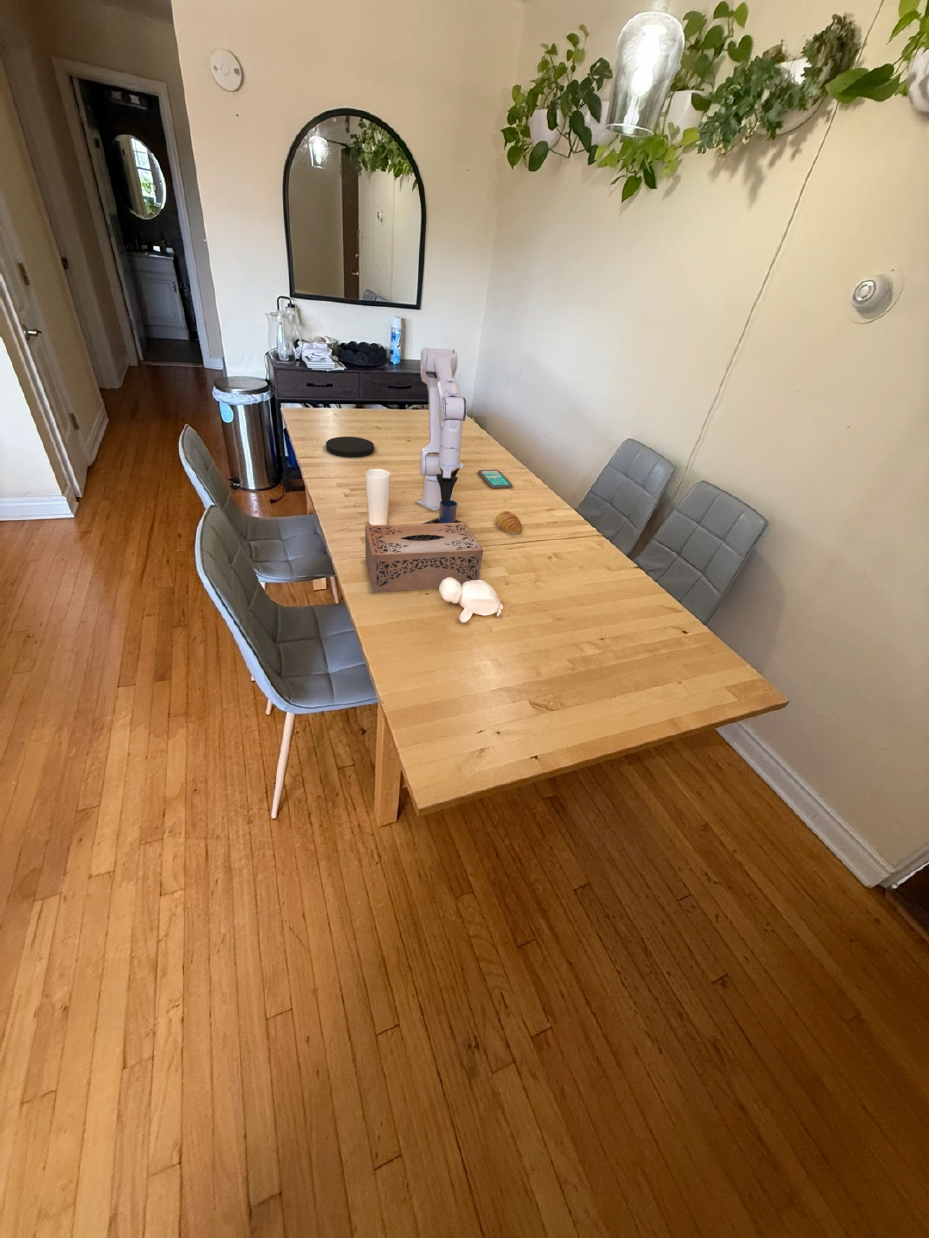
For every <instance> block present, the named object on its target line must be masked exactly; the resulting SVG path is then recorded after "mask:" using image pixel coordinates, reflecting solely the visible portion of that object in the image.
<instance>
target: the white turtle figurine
mask: <svg viewBox="0 0 929 1238" xmlns="http://www.w3.org/2000/svg"><path fill="white" fill-rule="evenodd" d="M438 593H439V594H440V596H441V598H442V599H443V600H444V601H445V602H447V603H452V604H459V605H460V607H462V608H463V610H462V612H461V613H460V615H459V621H460V622H461V623H462V624H463V623H464V624H466V623H467V622H468V621H470V619H471V618H472V616H473V614H476V615H480V616H491V615H494V614H496V616H497V617H499V616H500V614H501V613H502V610H503V609H504V605H503V604H502V603H501V601H500V599H499V597H498V594H497V592H496V590H495V589H494V588H493V586H491V585H490V584H489V583H487V582H486V581H485V580H484V579H479V580H471V581H467V582H465V583H463V584H462V586H461V584H460V583H459V582H458V581H457V580H456V579H454V578H452V577H448V578H446V579H444V580H443V581H442V582H441V584H440V586H439V588H438Z"/></svg>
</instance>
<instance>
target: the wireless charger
mask: <svg viewBox="0 0 929 1238" xmlns="http://www.w3.org/2000/svg"><path fill="white" fill-rule="evenodd" d="M325 449H326V452H328V453H329V454H331V455H333V456H336V457H341V458H348V459H349V458H350V459H351V458H353V459H354V458H363V457H369V456H370V455H372V454H374V452H375V444H374V442H372V441H371V440H369V439H367V438H364V437H358V436H337V437H332V438H330V439H328V440H327V441H326V442H325Z"/></svg>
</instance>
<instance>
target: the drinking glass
mask: <svg viewBox="0 0 929 1238" xmlns="http://www.w3.org/2000/svg"><path fill="white" fill-rule="evenodd" d="M364 477H365V479H364V482H365V495H366V504H367V514H368V515H367V516H368V524H370V525H388V515H389V504H390V496H391V472H389V471H388V470H386V469H383V468H371V469H368V470H366V471H365V476H364Z"/></svg>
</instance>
